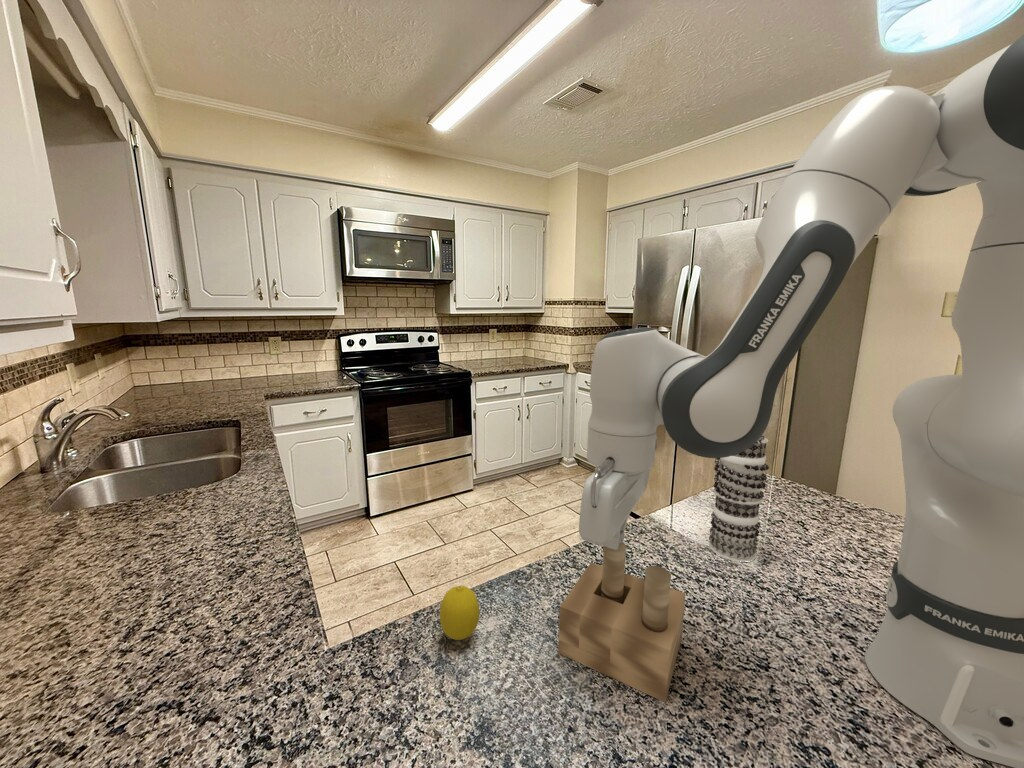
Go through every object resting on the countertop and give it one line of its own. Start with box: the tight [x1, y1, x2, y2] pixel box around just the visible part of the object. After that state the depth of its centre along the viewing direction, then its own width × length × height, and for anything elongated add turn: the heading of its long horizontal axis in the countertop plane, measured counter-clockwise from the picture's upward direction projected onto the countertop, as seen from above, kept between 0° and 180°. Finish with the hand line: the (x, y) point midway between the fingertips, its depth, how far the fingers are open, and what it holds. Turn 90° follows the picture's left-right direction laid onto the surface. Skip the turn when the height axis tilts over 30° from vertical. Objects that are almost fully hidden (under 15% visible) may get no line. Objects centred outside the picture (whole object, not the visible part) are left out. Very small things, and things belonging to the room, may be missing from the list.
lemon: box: [439, 585, 480, 641], centre depth 57 cm, size 6×6×8 cm
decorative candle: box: [708, 434, 770, 563], centre depth 80 cm, size 9×9×25 cm
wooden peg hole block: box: [557, 562, 686, 703], centre depth 56 cm, size 14×12×14 cm
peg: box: [601, 541, 627, 604], centre depth 58 cm, size 3×3×12 cm
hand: (614, 544), depth 57 cm, fingers closed, pressing on peg
